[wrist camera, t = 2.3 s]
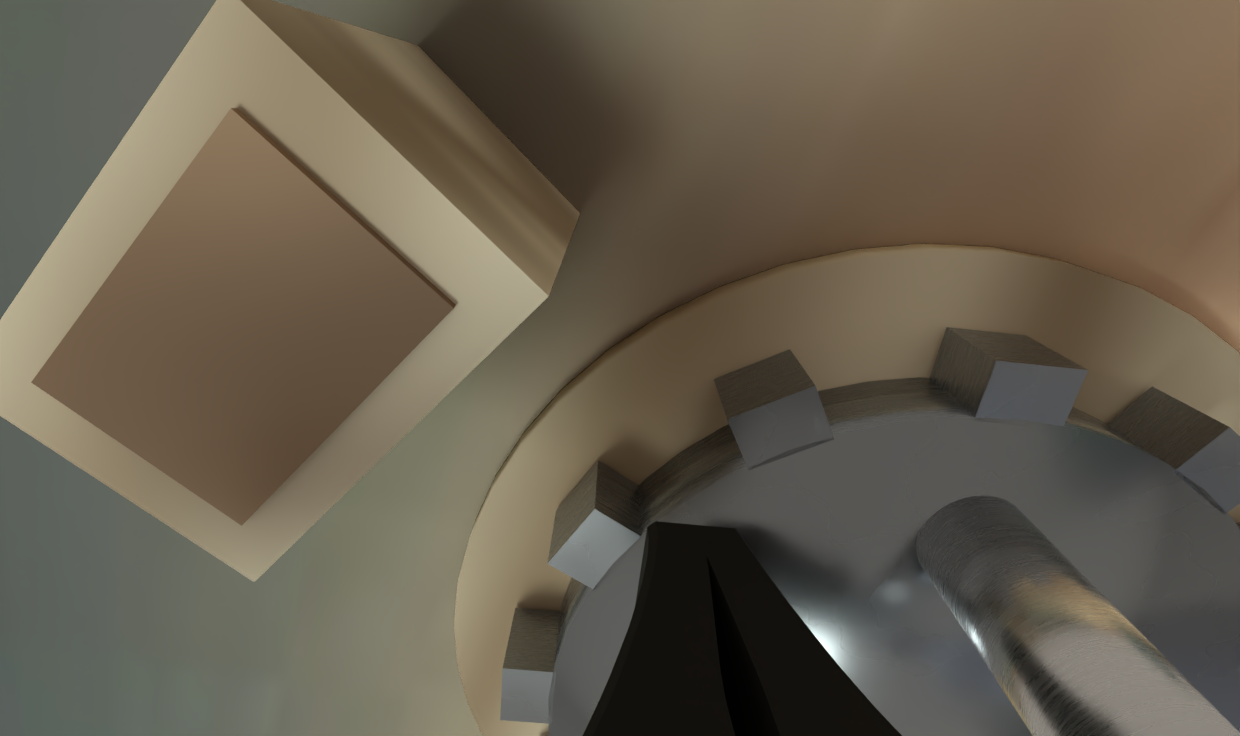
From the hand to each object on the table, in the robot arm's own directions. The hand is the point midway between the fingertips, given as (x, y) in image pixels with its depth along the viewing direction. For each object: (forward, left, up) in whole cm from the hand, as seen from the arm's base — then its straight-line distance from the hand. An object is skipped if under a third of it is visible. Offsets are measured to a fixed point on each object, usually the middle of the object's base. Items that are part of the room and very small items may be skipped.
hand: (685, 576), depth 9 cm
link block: (+5, -4, -3) cm, 7 cm away
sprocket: (-5, +4, -3) cm, 7 cm away
